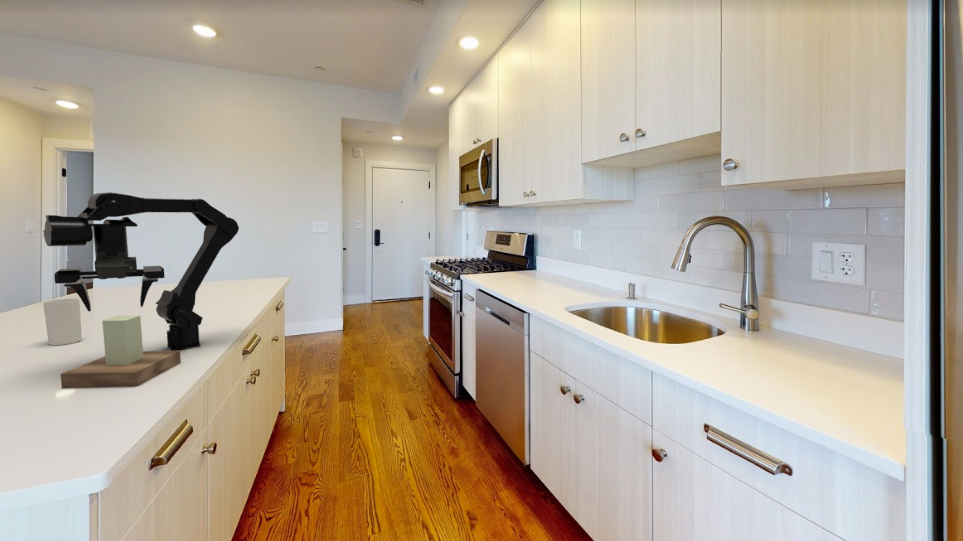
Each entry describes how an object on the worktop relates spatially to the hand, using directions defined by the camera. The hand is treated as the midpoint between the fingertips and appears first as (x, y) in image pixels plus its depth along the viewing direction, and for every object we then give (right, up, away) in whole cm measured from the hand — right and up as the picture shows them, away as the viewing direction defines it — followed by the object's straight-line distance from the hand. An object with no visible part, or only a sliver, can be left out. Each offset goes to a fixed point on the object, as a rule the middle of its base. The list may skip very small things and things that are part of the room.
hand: (116, 308), depth 93 cm
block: (+9, -11, -7) cm, 16 cm away
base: (+9, -14, -7) cm, 18 cm away
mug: (-29, -11, +15) cm, 34 cm away
